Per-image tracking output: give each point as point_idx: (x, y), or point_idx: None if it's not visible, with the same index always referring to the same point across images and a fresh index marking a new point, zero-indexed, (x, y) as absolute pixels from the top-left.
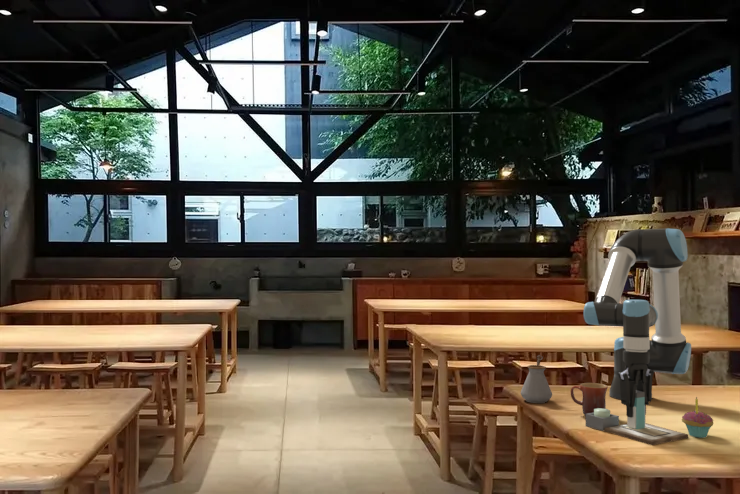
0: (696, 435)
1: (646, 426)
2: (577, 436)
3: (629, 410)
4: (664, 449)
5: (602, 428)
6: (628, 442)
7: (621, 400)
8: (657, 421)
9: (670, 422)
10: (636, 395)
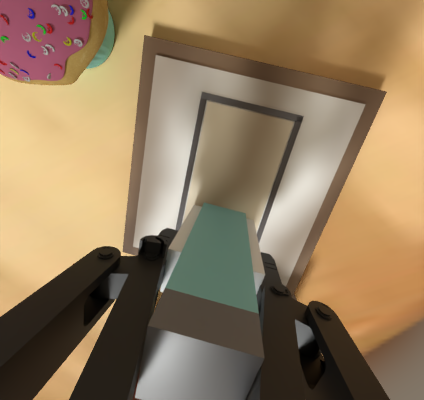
0: (109, 15)
1: (173, 208)
2: (416, 319)
3: (277, 280)
4: (414, 19)
5: (295, 299)
6: (389, 179)
7: (321, 365)
8: (45, 225)
9: (17, 192)
10: (259, 337)
